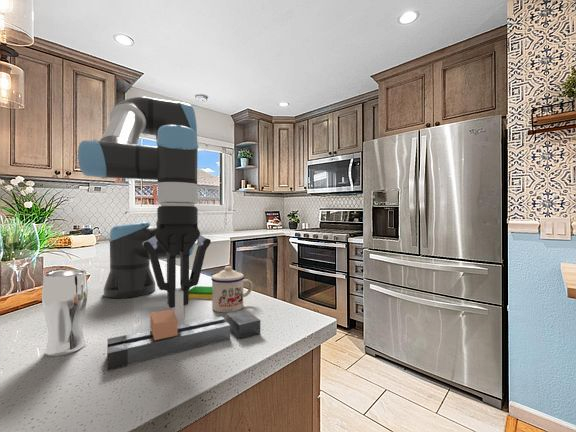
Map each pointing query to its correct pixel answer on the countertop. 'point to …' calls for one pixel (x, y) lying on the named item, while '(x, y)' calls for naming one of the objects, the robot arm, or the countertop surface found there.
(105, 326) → the countertop surface
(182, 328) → the tong arm
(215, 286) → the teacup with lid
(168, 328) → the peach rectangular block
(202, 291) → the dish sponge
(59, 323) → the beer glass
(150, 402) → the countertop surface
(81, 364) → the countertop surface
